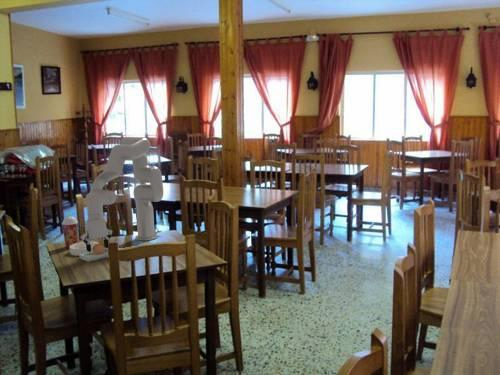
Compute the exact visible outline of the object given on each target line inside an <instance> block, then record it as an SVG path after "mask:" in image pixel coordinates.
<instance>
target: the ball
mask: <svg viewBox="0 0 500 375" xmlns="http://www.w3.org/2000/svg"><path fill="white" fill-rule="evenodd" d="M105 248H106V247H104V244H102V243H99V244H95V245H94V246H93V253H94V254H95V255H99V254H103V253H104V251H105Z"/></svg>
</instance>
